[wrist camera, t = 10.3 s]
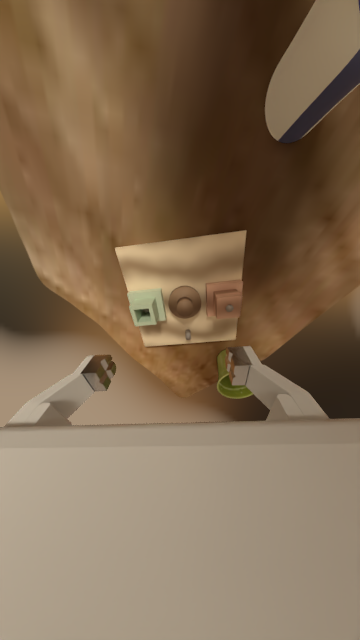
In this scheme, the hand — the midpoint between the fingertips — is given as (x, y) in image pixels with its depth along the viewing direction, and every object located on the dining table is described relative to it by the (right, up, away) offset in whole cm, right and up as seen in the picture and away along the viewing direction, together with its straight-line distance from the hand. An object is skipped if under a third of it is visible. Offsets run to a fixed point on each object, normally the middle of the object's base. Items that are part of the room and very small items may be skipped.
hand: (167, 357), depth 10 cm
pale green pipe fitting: (-6, +6, +19) cm, 21 cm away
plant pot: (+14, -7, +28) cm, 32 cm away
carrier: (+2, +7, +20) cm, 21 cm away
